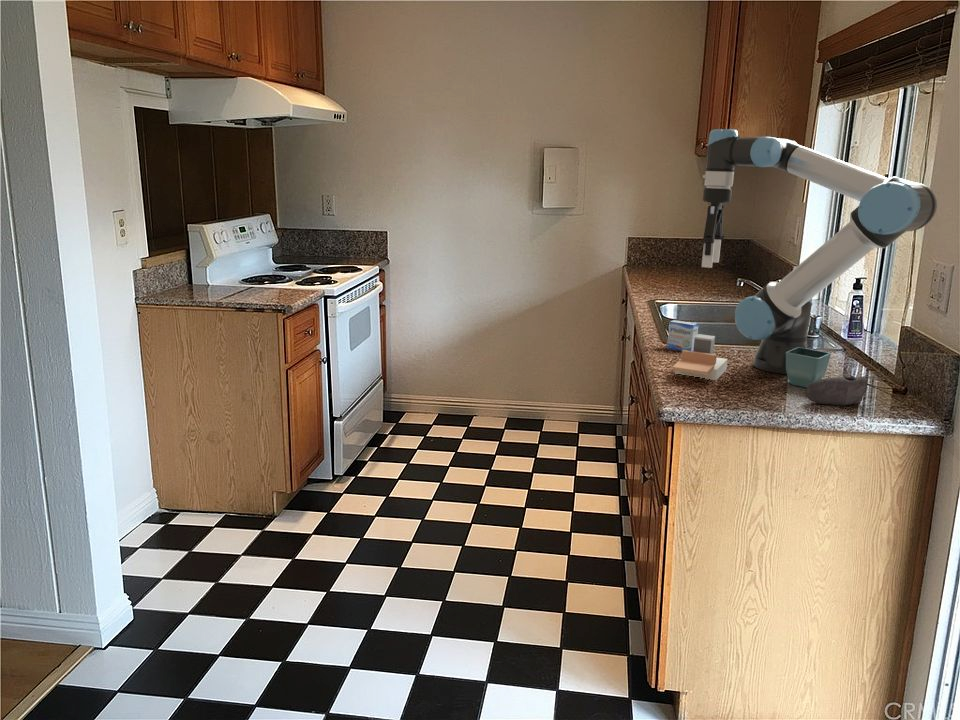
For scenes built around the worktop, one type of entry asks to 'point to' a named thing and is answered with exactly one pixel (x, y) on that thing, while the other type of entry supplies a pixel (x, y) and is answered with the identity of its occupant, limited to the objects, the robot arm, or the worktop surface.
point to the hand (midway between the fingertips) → (710, 264)
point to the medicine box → (682, 335)
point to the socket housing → (712, 375)
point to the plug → (704, 343)
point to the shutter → (696, 362)
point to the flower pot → (806, 366)
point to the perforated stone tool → (837, 390)
